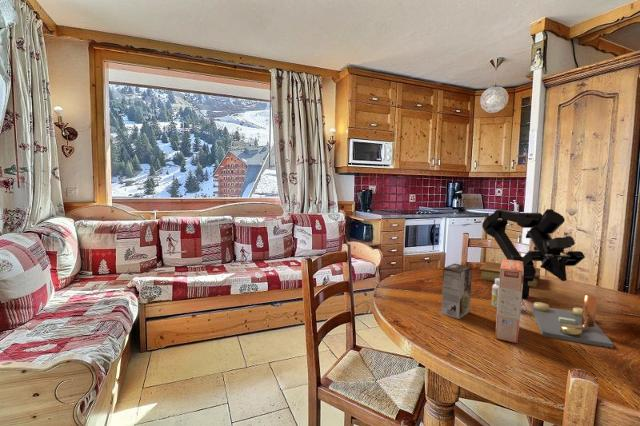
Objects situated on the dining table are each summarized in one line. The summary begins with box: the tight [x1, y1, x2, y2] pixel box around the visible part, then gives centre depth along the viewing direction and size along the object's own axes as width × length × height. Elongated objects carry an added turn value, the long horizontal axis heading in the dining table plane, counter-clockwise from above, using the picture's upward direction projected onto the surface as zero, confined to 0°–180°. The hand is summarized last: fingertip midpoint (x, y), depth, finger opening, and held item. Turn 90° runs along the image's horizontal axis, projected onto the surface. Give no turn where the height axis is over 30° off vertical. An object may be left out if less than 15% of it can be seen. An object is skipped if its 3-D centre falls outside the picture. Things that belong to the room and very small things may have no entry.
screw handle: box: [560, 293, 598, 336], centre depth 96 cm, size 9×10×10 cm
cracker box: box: [494, 258, 524, 344], centre depth 97 cm, size 14×6×21 cm, turn 148°
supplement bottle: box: [491, 278, 499, 308], centre depth 120 cm, size 5×5×10 cm
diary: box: [479, 261, 541, 290], centre depth 154 cm, size 23×19×6 cm
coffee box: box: [441, 263, 473, 320], centre depth 112 cm, size 9×6×16 cm
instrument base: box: [530, 301, 614, 349], centre depth 103 cm, size 16×24×3 cm, turn 154°
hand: (564, 280), depth 107 cm, fingers closed
